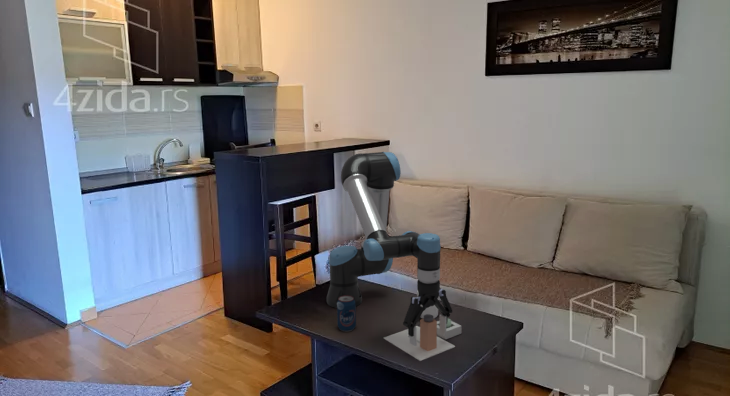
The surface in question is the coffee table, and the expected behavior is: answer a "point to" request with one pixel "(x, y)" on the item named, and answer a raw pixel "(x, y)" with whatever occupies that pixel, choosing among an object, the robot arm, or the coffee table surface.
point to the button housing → (449, 330)
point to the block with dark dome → (428, 333)
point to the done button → (448, 323)
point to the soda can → (346, 313)
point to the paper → (416, 351)
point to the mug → (429, 310)
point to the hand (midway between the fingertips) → (428, 338)
